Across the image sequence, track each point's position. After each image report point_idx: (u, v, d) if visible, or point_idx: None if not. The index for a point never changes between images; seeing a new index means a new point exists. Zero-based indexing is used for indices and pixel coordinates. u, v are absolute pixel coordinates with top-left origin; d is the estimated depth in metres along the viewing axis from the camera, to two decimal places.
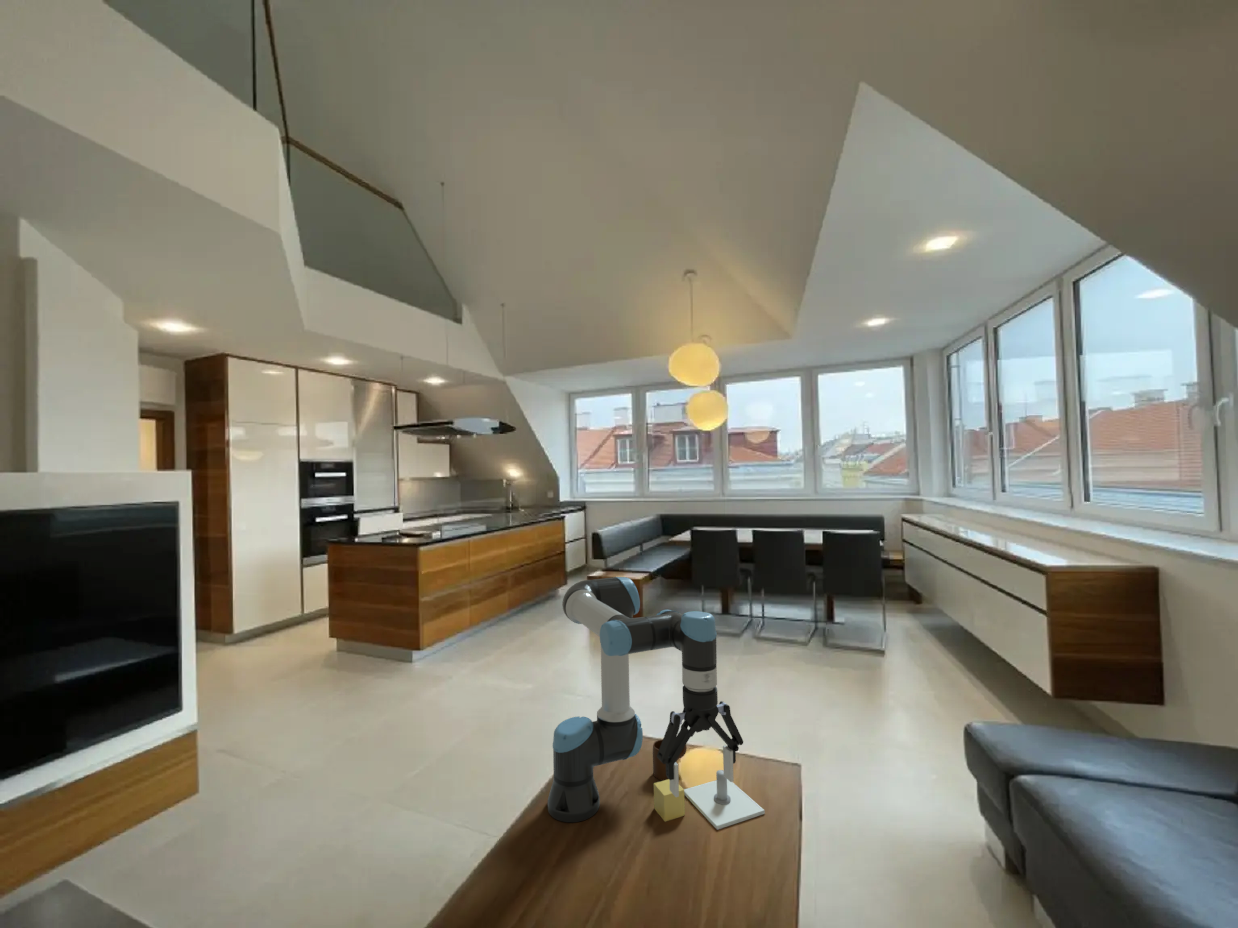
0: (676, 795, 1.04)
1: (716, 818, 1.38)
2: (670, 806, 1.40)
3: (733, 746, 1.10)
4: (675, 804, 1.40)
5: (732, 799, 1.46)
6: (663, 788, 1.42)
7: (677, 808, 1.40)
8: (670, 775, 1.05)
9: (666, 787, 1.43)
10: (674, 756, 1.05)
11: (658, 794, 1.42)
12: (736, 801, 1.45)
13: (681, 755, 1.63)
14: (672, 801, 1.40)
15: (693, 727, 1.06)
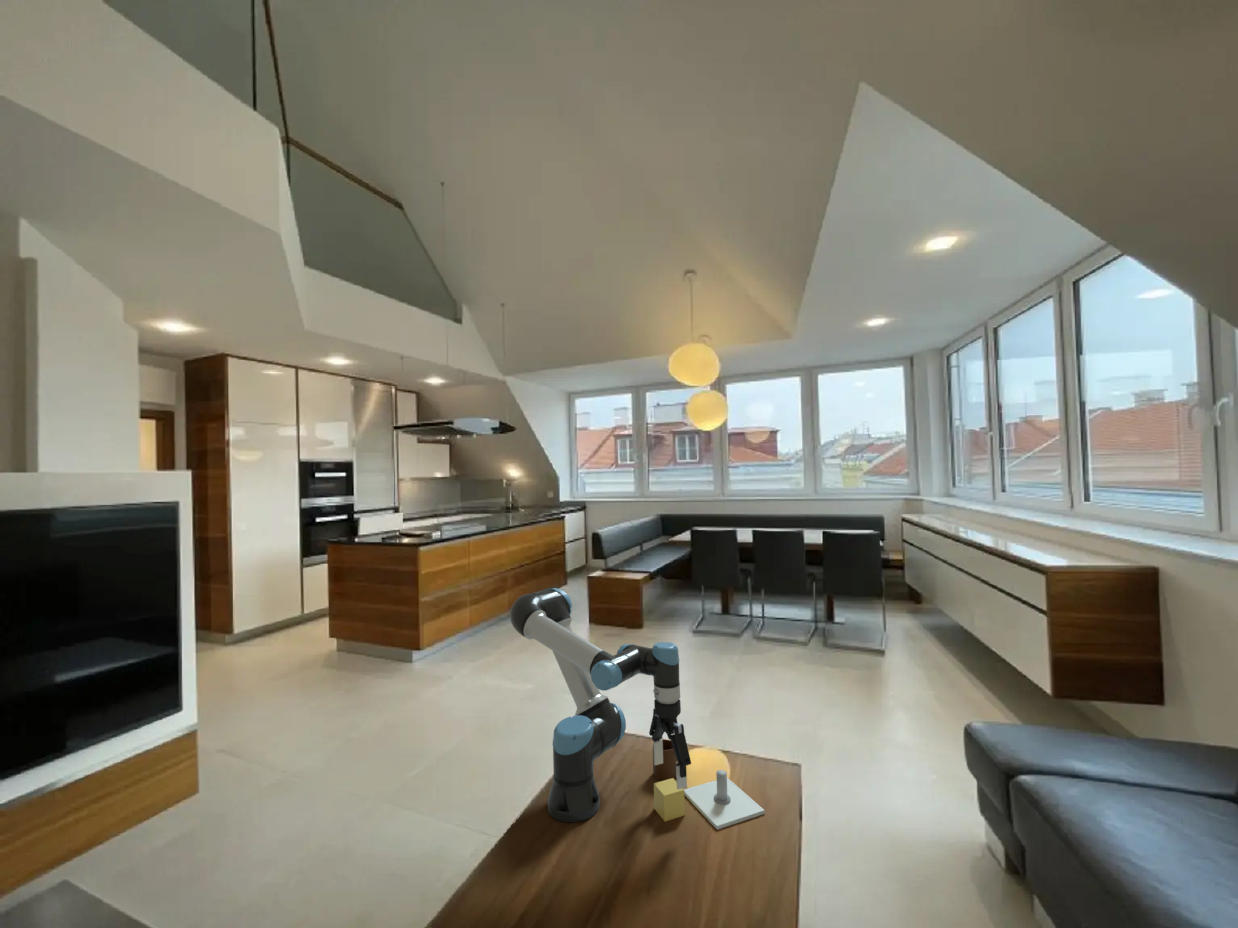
0: (654, 763, 1.49)
1: (716, 818, 1.38)
2: (670, 806, 1.40)
3: (678, 761, 1.36)
4: (675, 804, 1.40)
5: (732, 799, 1.46)
6: (663, 788, 1.42)
7: (677, 808, 1.40)
8: None
9: (666, 787, 1.43)
10: (653, 735, 1.50)
11: (658, 794, 1.42)
12: (736, 801, 1.45)
13: None
14: (672, 801, 1.40)
15: (658, 723, 1.46)
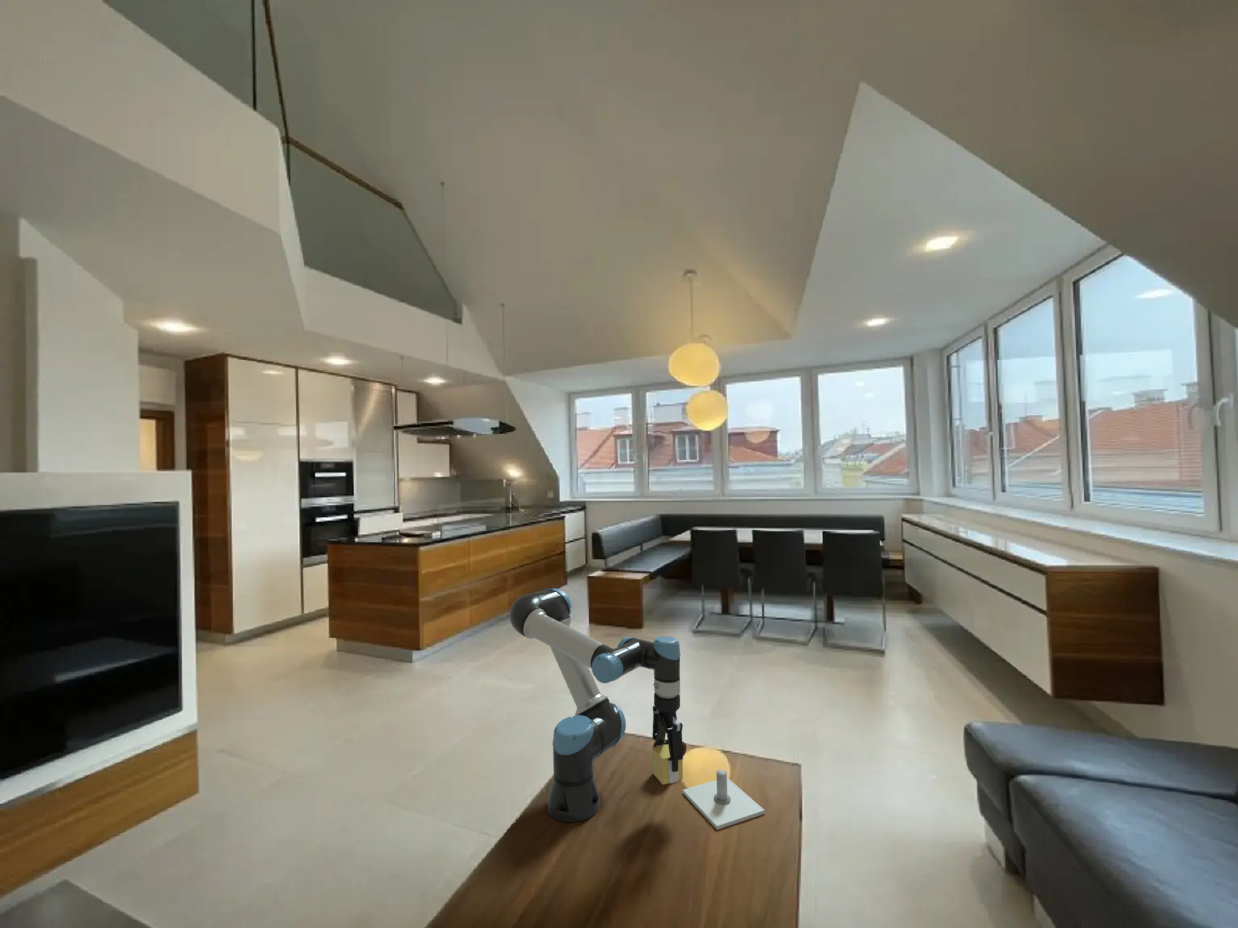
0: None
1: (716, 818, 1.38)
2: None
3: (670, 756, 1.39)
4: None
5: (732, 799, 1.46)
6: (661, 752, 1.43)
7: None
8: None
9: (664, 751, 1.43)
10: (656, 738, 1.47)
11: (656, 758, 1.43)
12: (736, 801, 1.45)
13: None
14: None
15: (658, 719, 1.45)
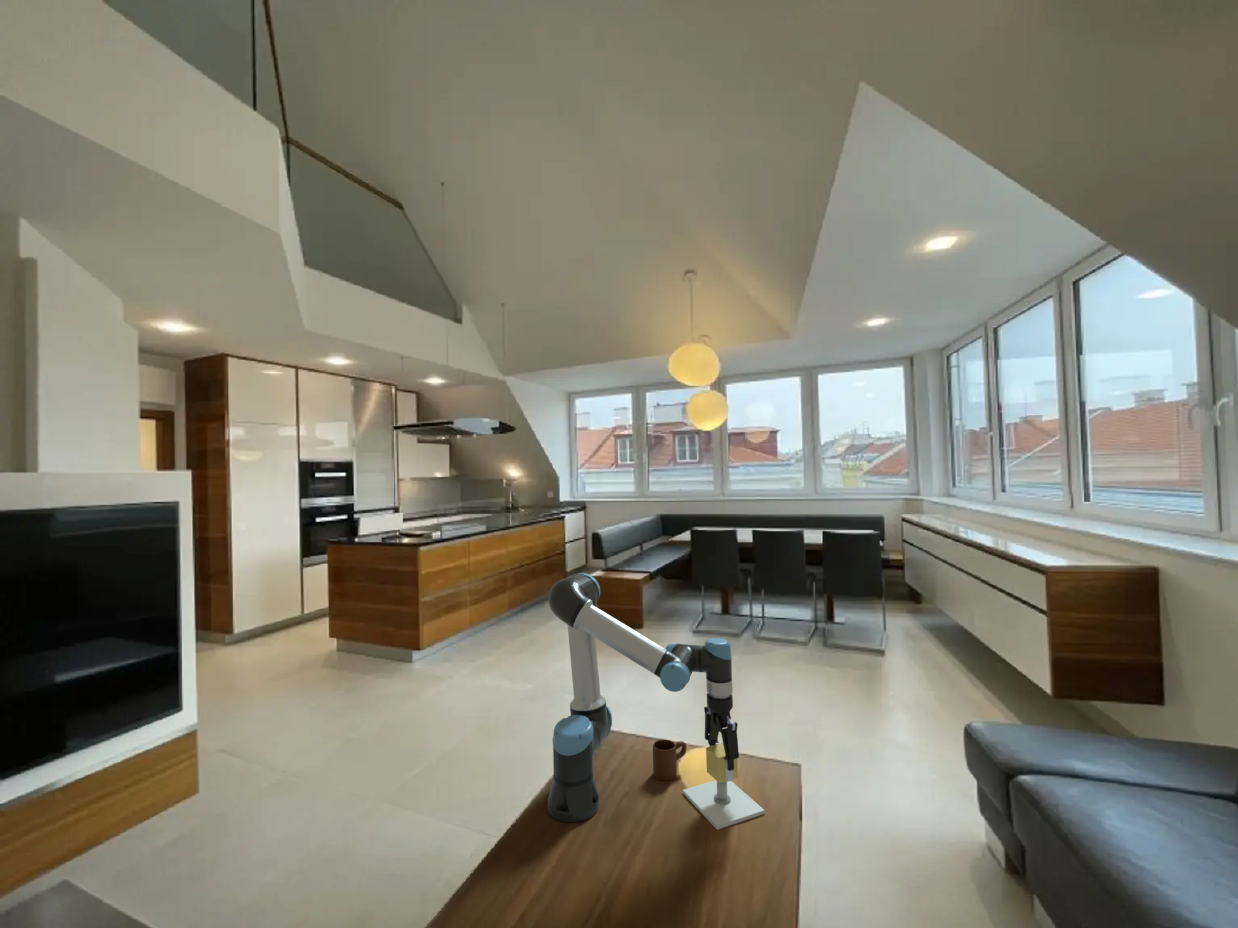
0: None
1: (716, 818, 1.38)
2: None
3: (726, 755, 1.43)
4: None
5: (732, 799, 1.46)
6: (715, 751, 1.46)
7: None
8: None
9: (719, 750, 1.47)
10: (709, 738, 1.51)
11: (711, 757, 1.46)
12: (736, 801, 1.45)
13: (681, 755, 1.63)
14: None
15: (711, 719, 1.49)
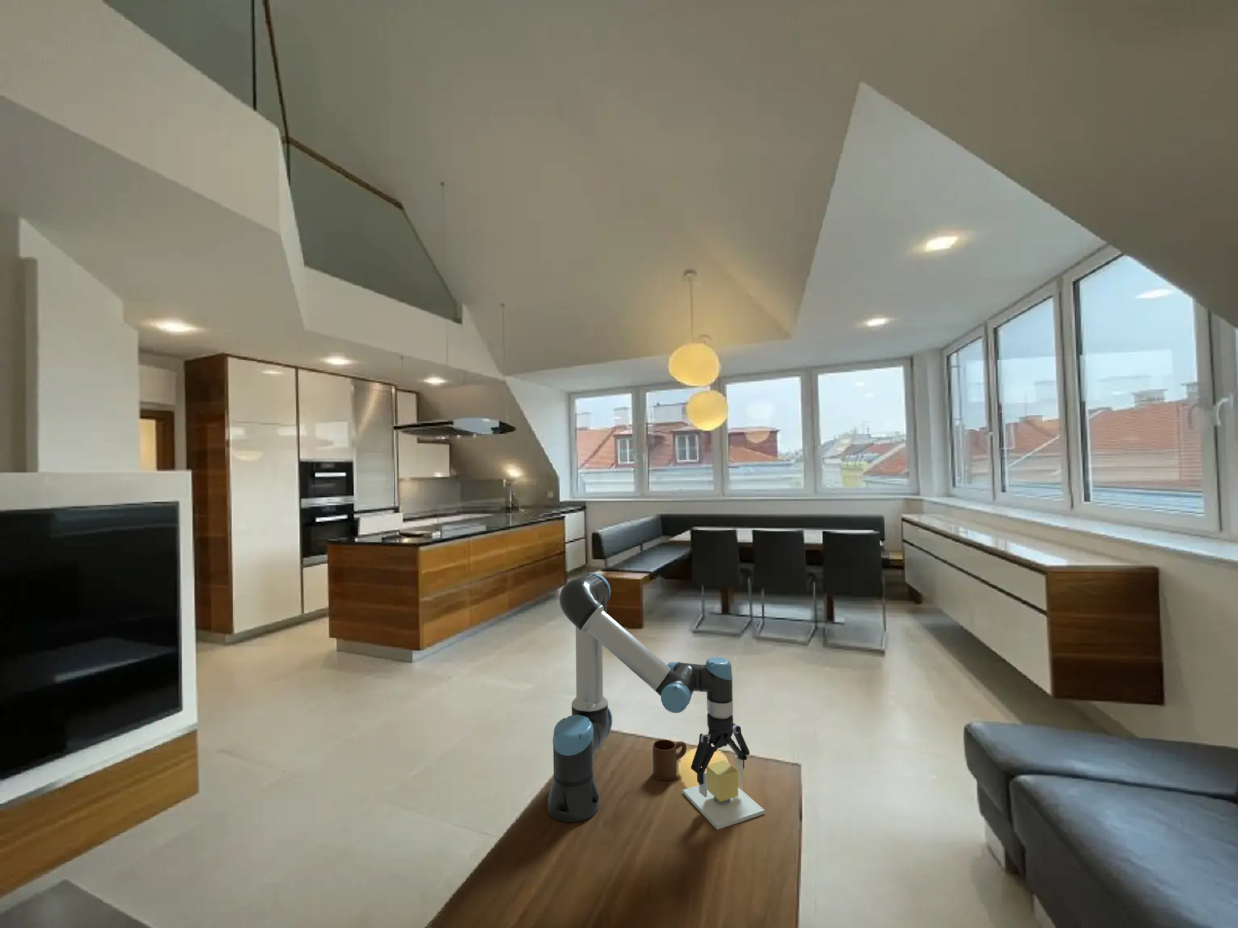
0: None
1: (716, 818, 1.38)
2: (710, 780, 1.46)
3: None
4: (713, 783, 1.45)
5: (732, 799, 1.46)
6: (718, 764, 1.48)
7: (715, 788, 1.44)
8: None
9: (719, 766, 1.47)
10: None
11: None
12: (736, 801, 1.45)
13: (681, 755, 1.63)
14: (712, 778, 1.46)
15: None
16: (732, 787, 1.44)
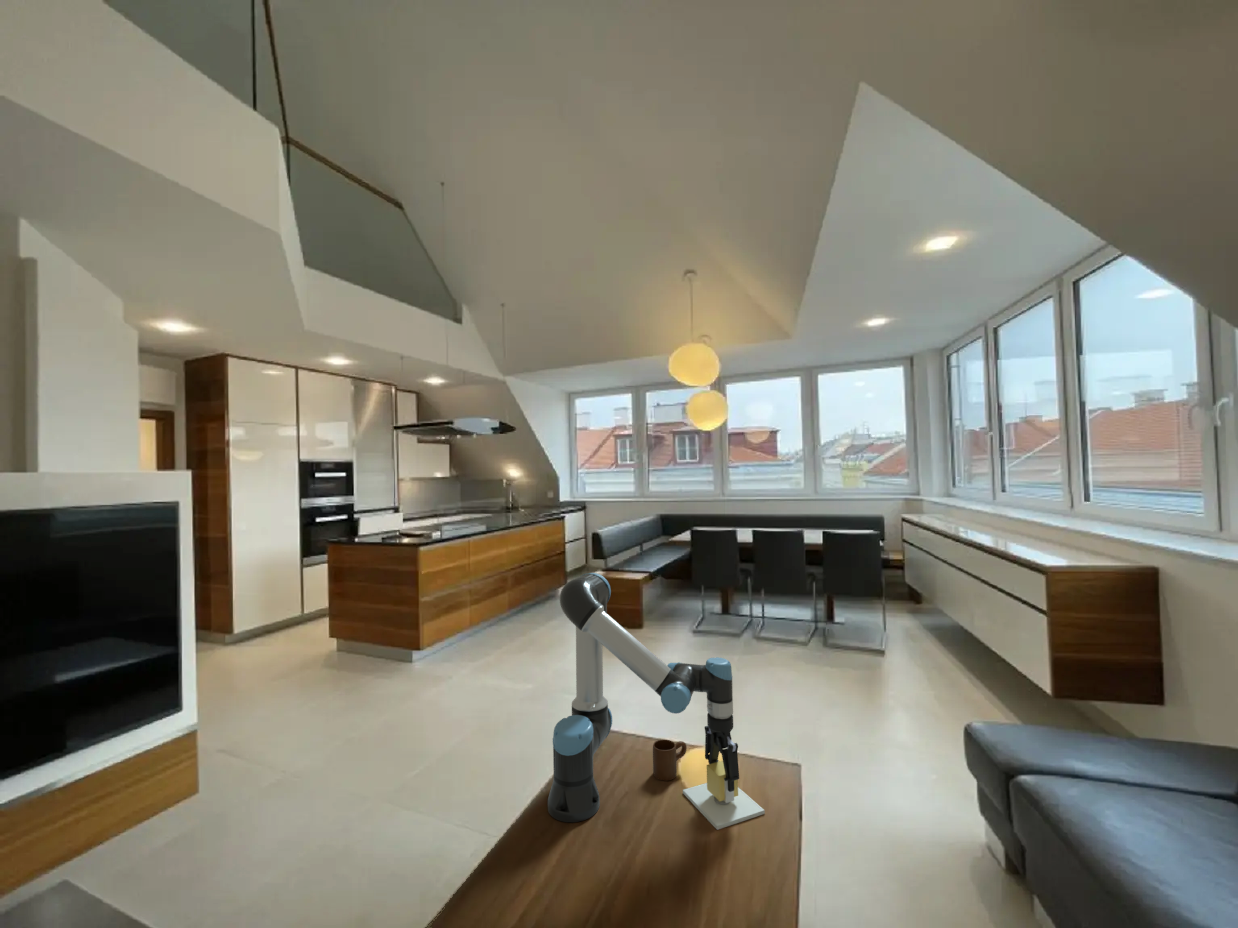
0: None
1: (716, 818, 1.38)
2: (710, 780, 1.47)
3: (726, 776, 1.42)
4: (713, 782, 1.45)
5: None
6: (718, 764, 1.49)
7: (714, 788, 1.45)
8: None
9: (719, 766, 1.48)
10: (709, 758, 1.50)
11: None
12: (736, 801, 1.45)
13: (681, 755, 1.63)
14: (711, 777, 1.46)
15: (711, 739, 1.49)
16: None
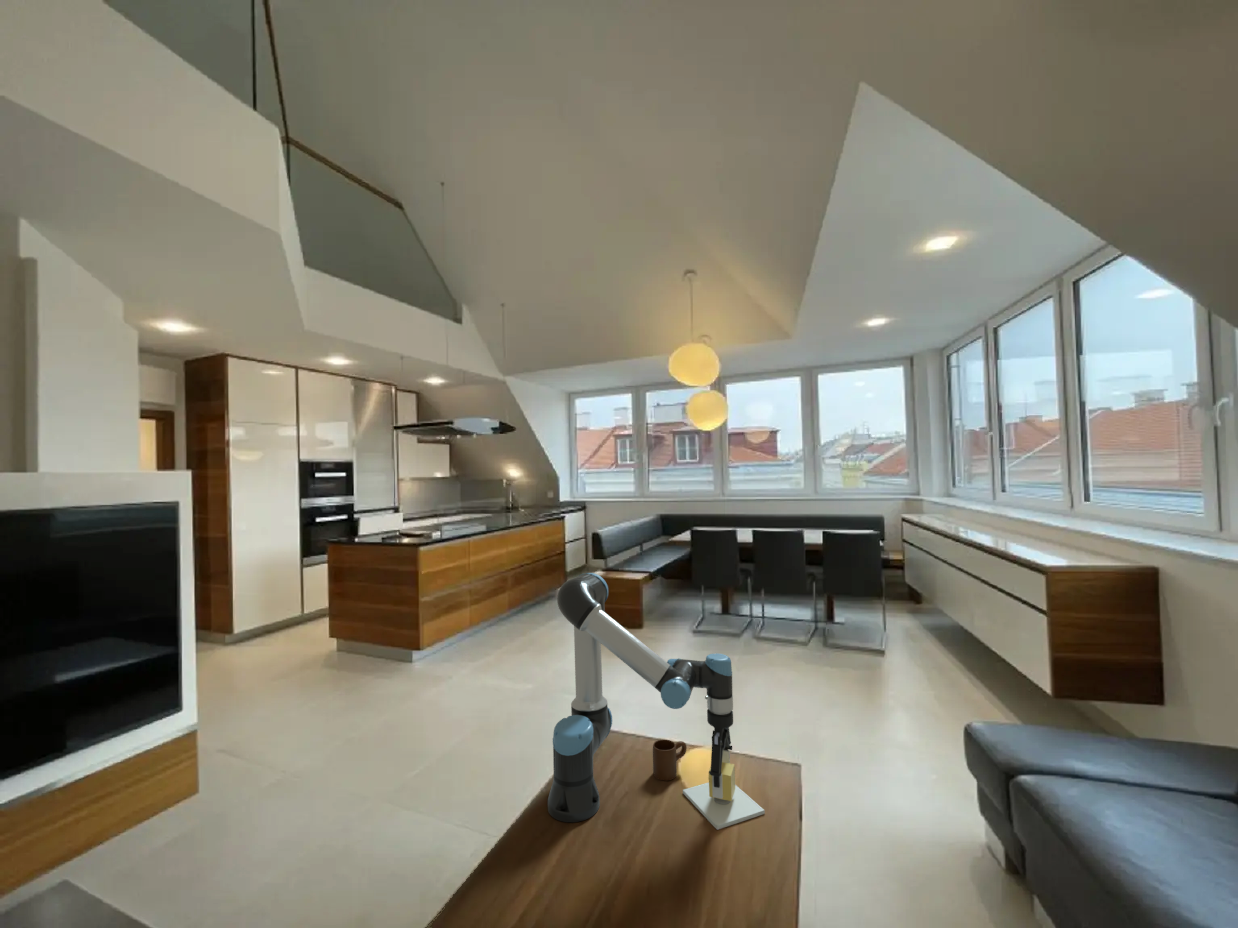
0: None
1: (716, 818, 1.38)
2: None
3: None
4: None
5: (732, 799, 1.46)
6: (722, 764, 1.49)
7: None
8: None
9: None
10: None
11: None
12: (736, 801, 1.45)
13: (681, 755, 1.63)
14: None
15: None
16: (724, 789, 1.43)
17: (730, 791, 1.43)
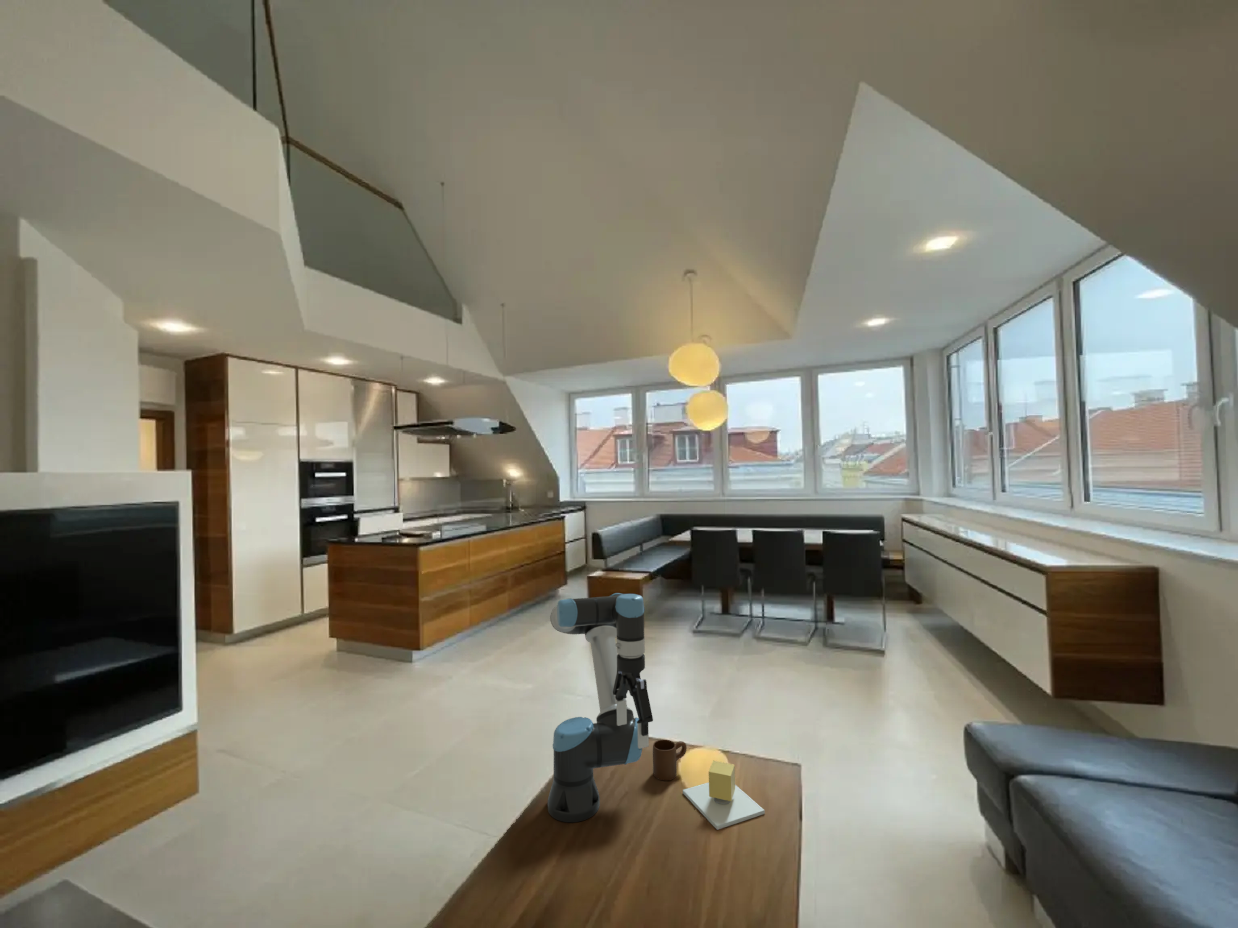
0: (617, 723, 1.39)
1: (716, 818, 1.38)
2: None
3: (639, 719, 1.26)
4: None
5: (732, 799, 1.46)
6: (722, 764, 1.49)
7: None
8: None
9: (721, 766, 1.48)
10: (616, 694, 1.40)
11: None
12: (736, 801, 1.45)
13: (681, 755, 1.63)
14: None
15: (621, 680, 1.36)
16: (724, 789, 1.43)
17: (730, 791, 1.43)
